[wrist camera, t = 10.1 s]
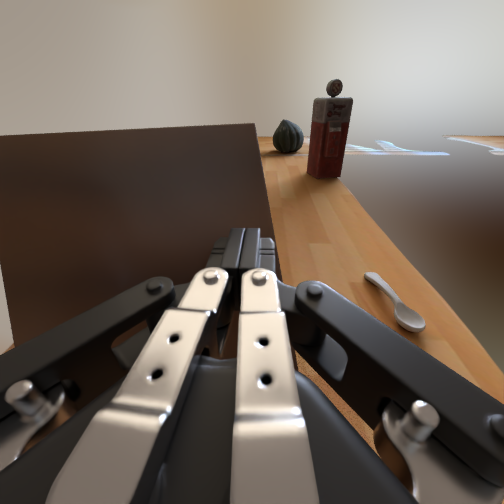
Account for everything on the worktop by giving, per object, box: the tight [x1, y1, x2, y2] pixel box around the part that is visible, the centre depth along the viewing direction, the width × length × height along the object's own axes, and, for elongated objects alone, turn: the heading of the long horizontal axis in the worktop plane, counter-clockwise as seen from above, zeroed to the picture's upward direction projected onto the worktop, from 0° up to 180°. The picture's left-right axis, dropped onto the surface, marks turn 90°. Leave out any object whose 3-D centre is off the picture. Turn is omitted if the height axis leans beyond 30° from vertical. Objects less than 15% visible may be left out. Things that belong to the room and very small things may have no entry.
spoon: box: [364, 272, 425, 332], centre depth 34 cm, size 3×12×2 cm, turn 5°
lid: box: [0, 123, 298, 371], centre depth 14 cm, size 16×14×1 cm
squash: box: [273, 120, 304, 152], centre depth 124 cm, size 14×15×15 cm
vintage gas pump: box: [307, 79, 353, 179], centre depth 81 cm, size 9×11×28 cm
